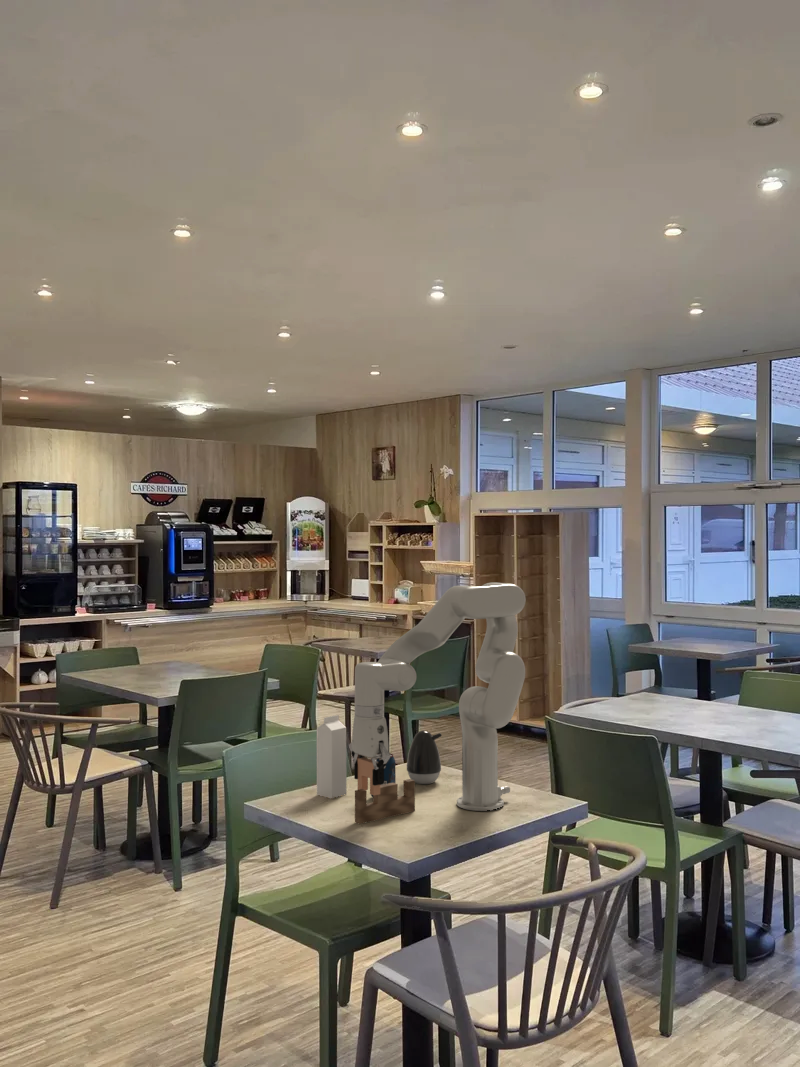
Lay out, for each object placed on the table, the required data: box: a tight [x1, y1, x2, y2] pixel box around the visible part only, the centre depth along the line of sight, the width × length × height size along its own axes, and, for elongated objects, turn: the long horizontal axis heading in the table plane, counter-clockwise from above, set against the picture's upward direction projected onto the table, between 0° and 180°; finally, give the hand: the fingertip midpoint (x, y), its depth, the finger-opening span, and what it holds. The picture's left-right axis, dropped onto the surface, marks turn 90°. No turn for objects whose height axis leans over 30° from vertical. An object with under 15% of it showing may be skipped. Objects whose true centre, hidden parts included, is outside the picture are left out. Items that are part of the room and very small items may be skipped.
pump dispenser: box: [406, 730, 443, 785], centre depth 269 cm, size 10×10×15 cm
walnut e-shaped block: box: [354, 778, 416, 825], centre depth 235 cm, size 18×2×8 cm, turn 129°
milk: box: [316, 714, 347, 799], centre depth 256 cm, size 6×6×22 cm
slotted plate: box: [357, 757, 380, 796], centre depth 232 cm, size 2×7×8 cm, turn 39°
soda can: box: [370, 752, 397, 799], centre depth 252 cm, size 7×7×12 cm
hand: (368, 780), depth 232 cm, fingers closed on slotted plate, 7 cm apart
